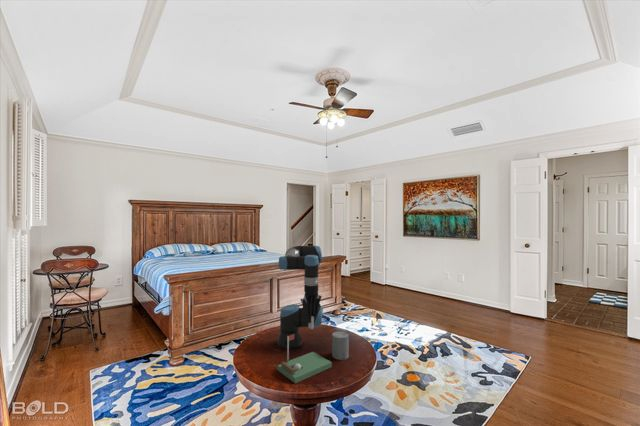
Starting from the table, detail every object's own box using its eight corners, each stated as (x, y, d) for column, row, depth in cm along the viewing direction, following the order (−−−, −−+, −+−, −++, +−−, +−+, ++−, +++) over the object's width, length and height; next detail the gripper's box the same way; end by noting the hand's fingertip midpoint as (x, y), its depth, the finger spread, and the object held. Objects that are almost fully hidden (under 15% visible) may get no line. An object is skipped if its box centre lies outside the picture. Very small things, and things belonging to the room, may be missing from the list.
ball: (293, 361, 158) (299, 362, 161) (291, 370, 157) (296, 370, 160) (298, 364, 155) (303, 365, 158) (295, 372, 154) (301, 373, 157)
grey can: (347, 360, 170) (347, 338, 170) (330, 358, 172) (331, 337, 172) (349, 352, 179) (349, 331, 179) (333, 351, 181) (333, 330, 181)
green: (277, 370, 159) (277, 338, 159) (312, 355, 175) (313, 327, 175) (295, 383, 147) (295, 349, 147) (331, 366, 163) (331, 336, 163)
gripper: (305, 287, 156) (305, 333, 157) (325, 283, 165) (324, 327, 165) (297, 284, 162) (297, 329, 162) (316, 281, 170) (315, 323, 171)
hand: (311, 328), depth 164 cm, fingers closed
